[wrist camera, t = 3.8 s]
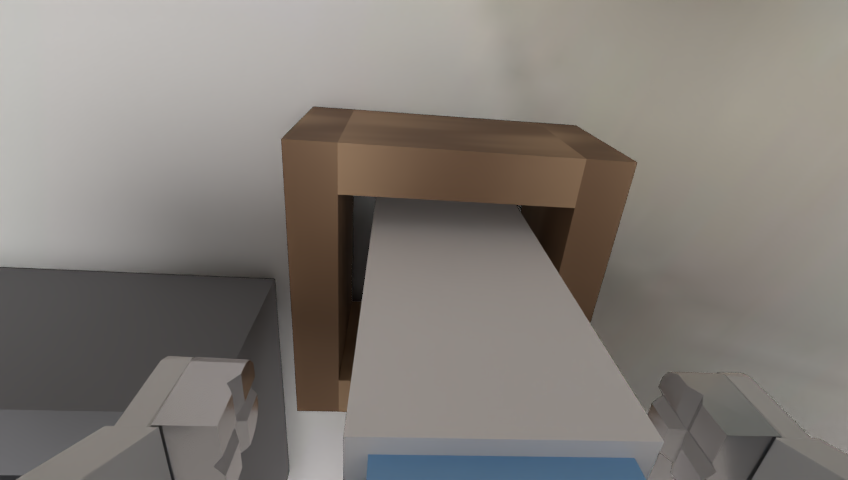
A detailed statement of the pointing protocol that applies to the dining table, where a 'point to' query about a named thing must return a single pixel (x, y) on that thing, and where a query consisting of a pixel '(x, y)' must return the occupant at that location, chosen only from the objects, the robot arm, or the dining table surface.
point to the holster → (431, 180)
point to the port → (125, 354)
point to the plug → (481, 359)
